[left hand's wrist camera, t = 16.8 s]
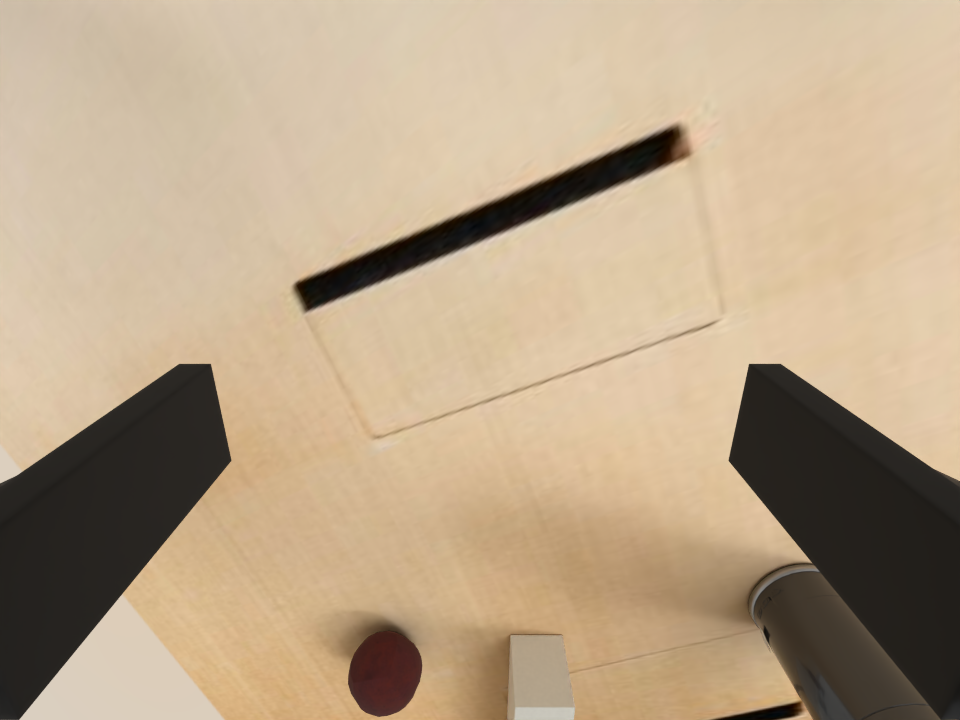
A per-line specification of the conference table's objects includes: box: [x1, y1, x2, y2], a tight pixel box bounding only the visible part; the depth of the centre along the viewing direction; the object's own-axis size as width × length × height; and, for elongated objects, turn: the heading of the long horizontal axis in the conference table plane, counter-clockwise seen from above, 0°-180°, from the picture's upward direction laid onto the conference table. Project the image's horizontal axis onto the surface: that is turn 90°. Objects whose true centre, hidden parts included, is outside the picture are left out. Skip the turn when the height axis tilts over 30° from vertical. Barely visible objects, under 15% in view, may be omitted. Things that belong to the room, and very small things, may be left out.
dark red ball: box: [348, 631, 422, 717], centre depth 52 cm, size 7×8×7 cm
